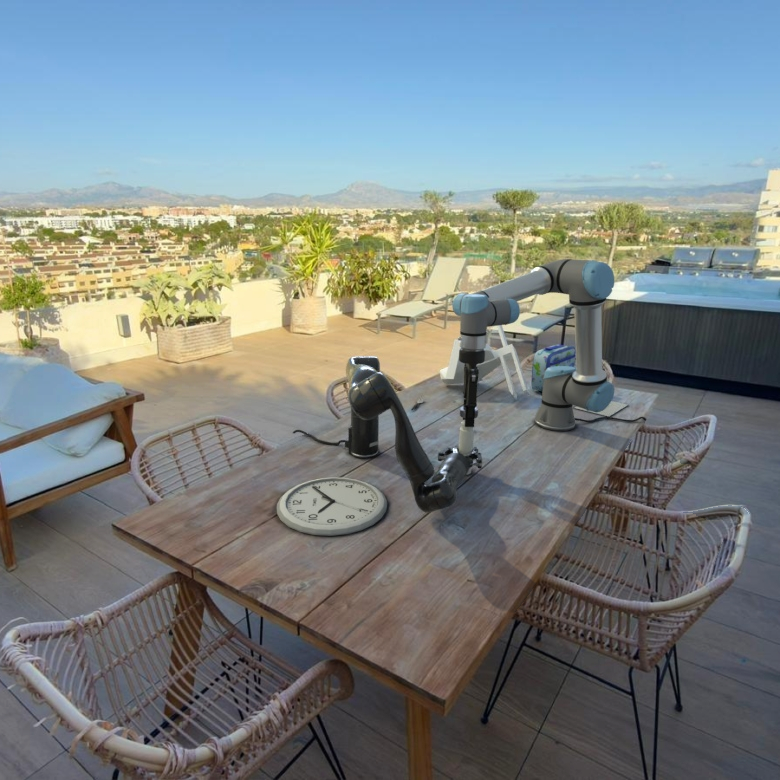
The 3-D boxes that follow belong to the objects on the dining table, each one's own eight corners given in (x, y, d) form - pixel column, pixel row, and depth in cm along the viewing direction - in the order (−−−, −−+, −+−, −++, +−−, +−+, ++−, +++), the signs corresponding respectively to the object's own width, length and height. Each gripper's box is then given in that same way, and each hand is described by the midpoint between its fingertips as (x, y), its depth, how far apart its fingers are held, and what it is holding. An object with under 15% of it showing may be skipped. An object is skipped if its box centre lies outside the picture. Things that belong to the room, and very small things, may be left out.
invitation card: (608, 416, 214) (573, 407, 224) (608, 416, 214) (573, 408, 224) (628, 404, 229) (594, 396, 238) (628, 405, 229) (594, 397, 238)
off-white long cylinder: (462, 467, 167) (465, 419, 162) (473, 471, 164) (477, 422, 159) (454, 471, 164) (457, 422, 159) (465, 476, 161) (468, 426, 156)
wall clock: (392, 527, 129) (268, 531, 127) (391, 533, 130) (269, 537, 127) (383, 473, 158) (282, 475, 155) (383, 478, 158) (282, 480, 156)
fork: (408, 410, 217) (408, 406, 216) (419, 399, 231) (419, 395, 230) (414, 411, 216) (414, 407, 215) (425, 400, 230) (425, 396, 230)
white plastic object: (461, 429, 252) (437, 405, 227) (444, 352, 274) (420, 323, 250) (535, 404, 240) (518, 377, 215) (510, 326, 262) (492, 293, 237)
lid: (476, 419, 156) (477, 412, 155) (458, 418, 157) (458, 410, 156) (478, 413, 160) (478, 406, 160) (460, 412, 162) (461, 405, 161)
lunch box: (547, 397, 237) (552, 352, 231) (526, 391, 245) (531, 348, 238) (574, 386, 255) (580, 344, 249) (554, 381, 262) (559, 340, 256)
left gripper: (478, 462, 146) (491, 440, 161) (429, 454, 151) (446, 433, 166) (476, 487, 148) (489, 463, 163) (428, 477, 153) (445, 455, 168)
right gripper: (456, 341, 161) (453, 412, 168) (462, 356, 144) (458, 434, 151) (481, 341, 161) (476, 412, 168) (489, 356, 143) (484, 434, 151)
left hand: (467, 448), depth 164 cm, fingers closed on off-white long cylinder, 4 cm apart
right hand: (468, 422), depth 159 cm, fingers closed on lid, 5 cm apart
